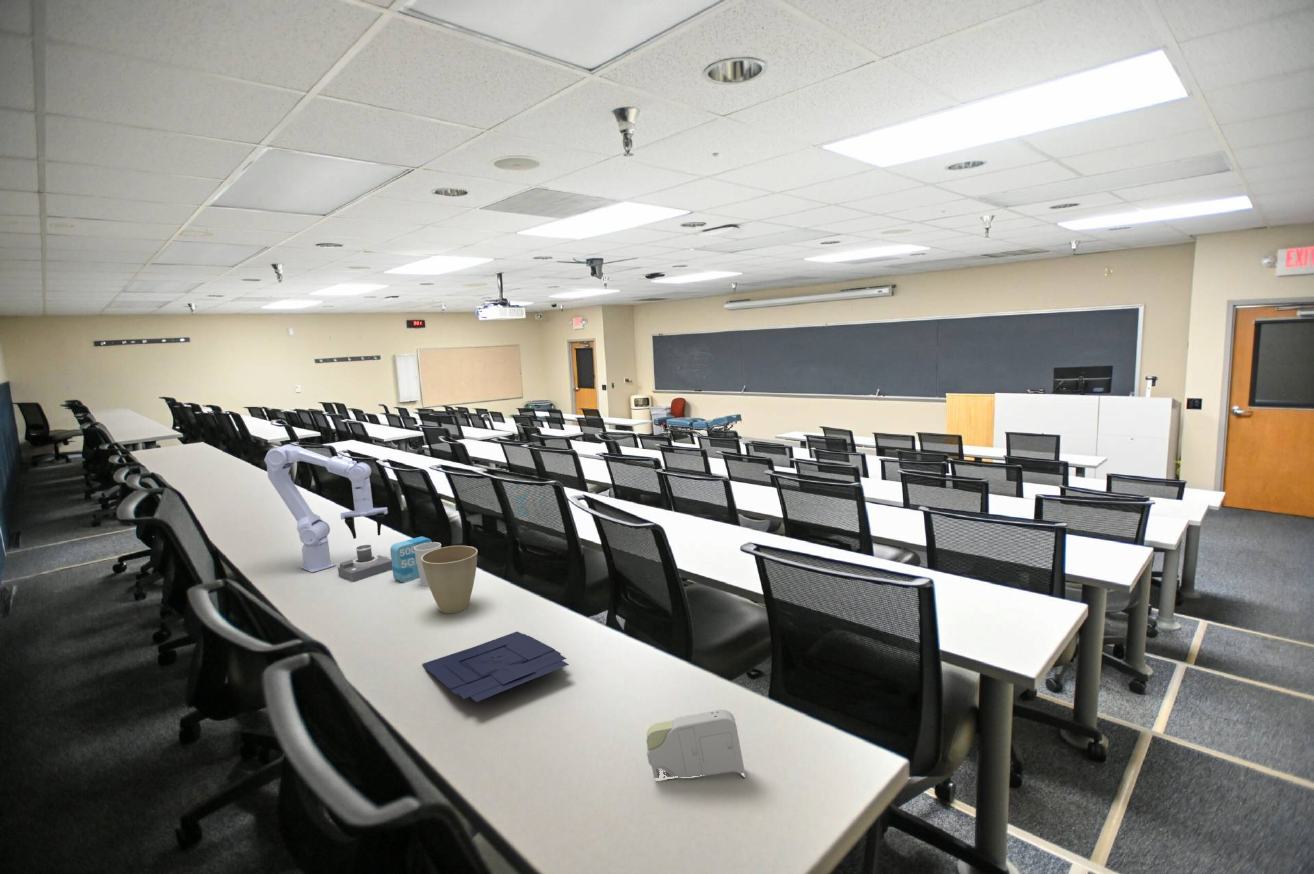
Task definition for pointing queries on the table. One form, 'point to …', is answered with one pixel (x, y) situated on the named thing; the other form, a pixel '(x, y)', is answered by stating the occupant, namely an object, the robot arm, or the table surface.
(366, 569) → the camera body
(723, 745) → the toy camper
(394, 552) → the data package
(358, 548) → the lens
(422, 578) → the cup
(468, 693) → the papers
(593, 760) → the table surface
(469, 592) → the plant pot
